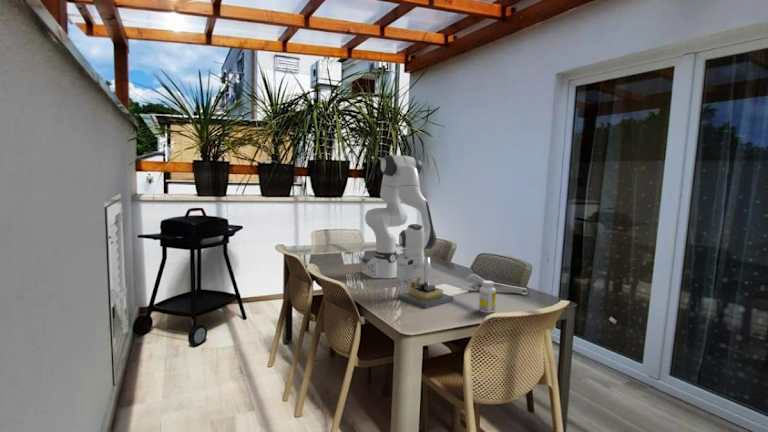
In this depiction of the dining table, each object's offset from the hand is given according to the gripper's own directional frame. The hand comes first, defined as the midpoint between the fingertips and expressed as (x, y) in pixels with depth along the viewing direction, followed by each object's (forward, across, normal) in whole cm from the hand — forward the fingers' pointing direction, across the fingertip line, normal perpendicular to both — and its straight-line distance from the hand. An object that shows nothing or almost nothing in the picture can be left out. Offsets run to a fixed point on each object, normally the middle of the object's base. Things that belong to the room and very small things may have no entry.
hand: (414, 287), depth 201 cm
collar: (+2, 0, +5) cm, 6 cm away
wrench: (+5, -38, +20) cm, 44 cm away
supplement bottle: (+4, -10, +35) cm, 37 cm away
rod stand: (+4, 0, +8) cm, 9 cm away
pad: (+4, -18, +4) cm, 19 cm away
